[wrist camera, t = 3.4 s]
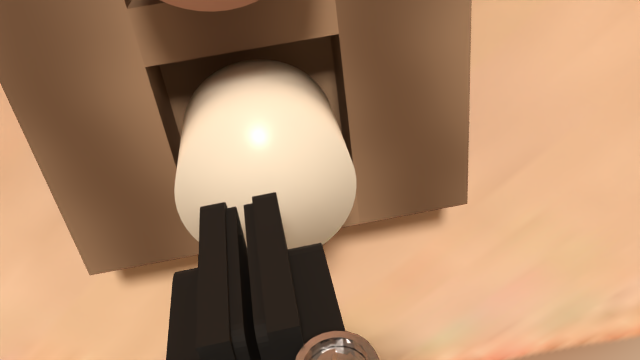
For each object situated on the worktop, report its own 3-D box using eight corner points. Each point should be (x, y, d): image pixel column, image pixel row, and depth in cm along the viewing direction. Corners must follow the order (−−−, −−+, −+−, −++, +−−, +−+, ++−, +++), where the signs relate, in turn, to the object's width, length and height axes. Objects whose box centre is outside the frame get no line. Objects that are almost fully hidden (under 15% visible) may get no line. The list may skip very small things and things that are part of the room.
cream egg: (324, 46, 16) (347, 95, 13) (341, 180, 19) (363, 246, 16) (164, 74, 16) (151, 130, 13) (202, 205, 18) (199, 278, 16)
